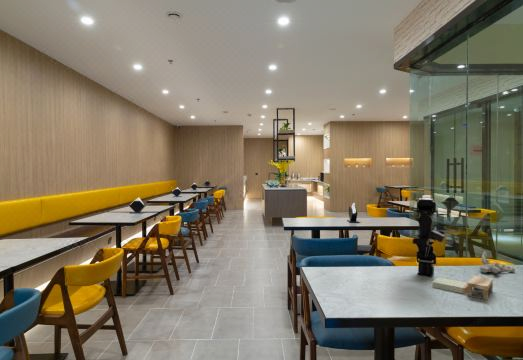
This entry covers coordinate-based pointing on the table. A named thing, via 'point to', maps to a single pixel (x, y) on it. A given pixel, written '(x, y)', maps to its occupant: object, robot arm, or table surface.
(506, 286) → the table surface
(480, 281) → the wooden block
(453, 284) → the cream rectangular block
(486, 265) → the anatomical model
